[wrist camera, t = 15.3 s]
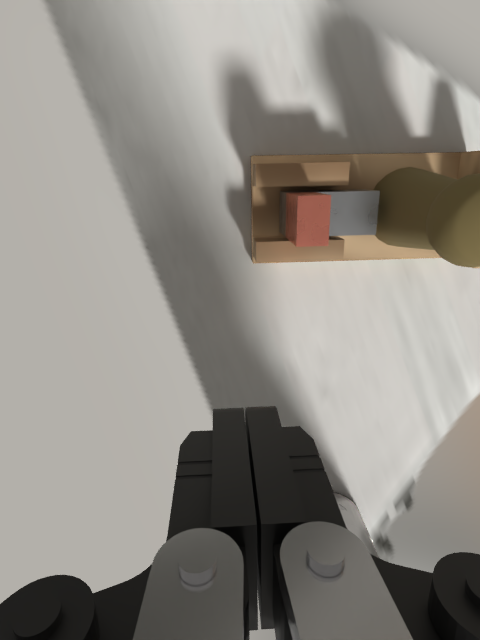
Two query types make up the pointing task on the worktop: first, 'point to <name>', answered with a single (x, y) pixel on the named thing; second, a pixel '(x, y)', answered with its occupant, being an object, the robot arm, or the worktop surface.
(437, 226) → the olive rounded piece
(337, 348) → the worktop surface
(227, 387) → the worktop surface
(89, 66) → the worktop surface
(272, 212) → the light brown wooden holder
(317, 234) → the red grey l-shaped block
